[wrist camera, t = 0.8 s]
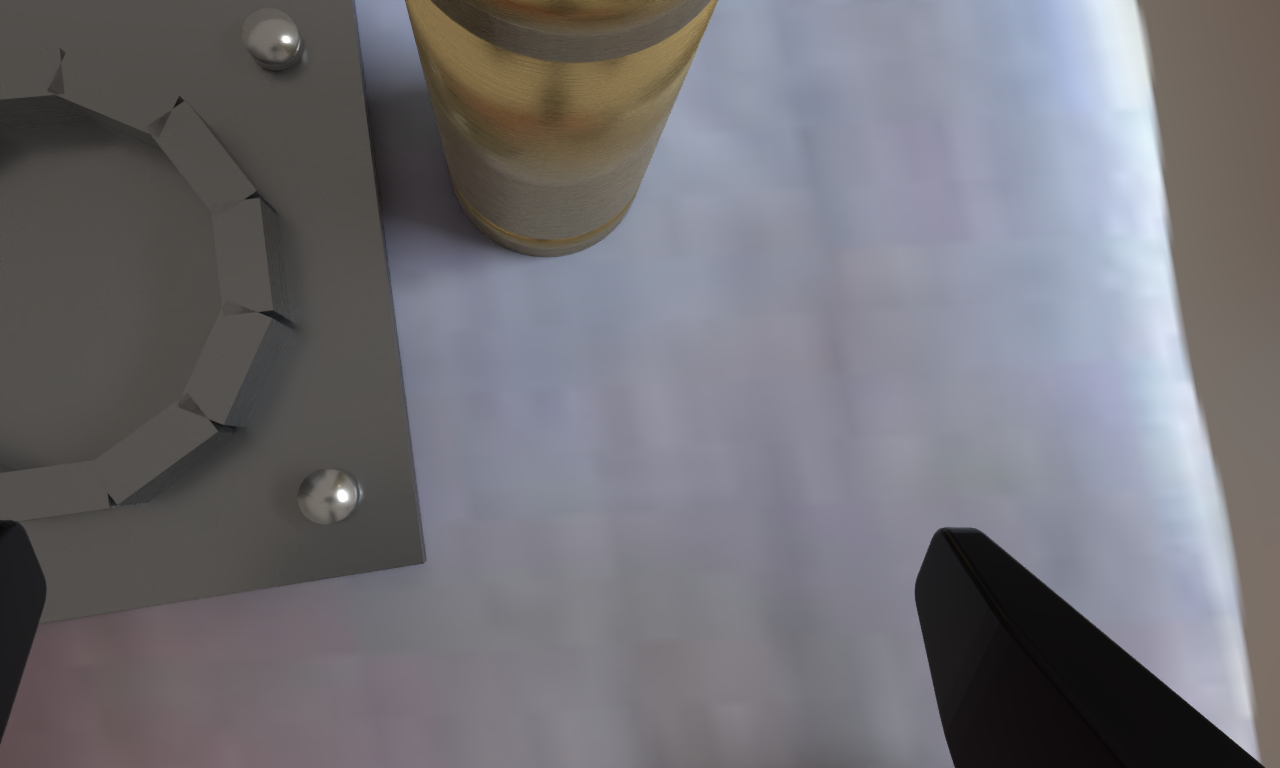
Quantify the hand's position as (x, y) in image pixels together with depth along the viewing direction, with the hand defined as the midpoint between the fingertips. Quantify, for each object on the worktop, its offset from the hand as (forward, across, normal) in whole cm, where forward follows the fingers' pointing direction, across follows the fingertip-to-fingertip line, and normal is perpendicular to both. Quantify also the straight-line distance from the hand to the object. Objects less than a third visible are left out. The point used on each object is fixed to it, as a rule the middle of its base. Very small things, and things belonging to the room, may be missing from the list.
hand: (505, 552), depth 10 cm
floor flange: (+12, +10, +5) cm, 17 cm away
